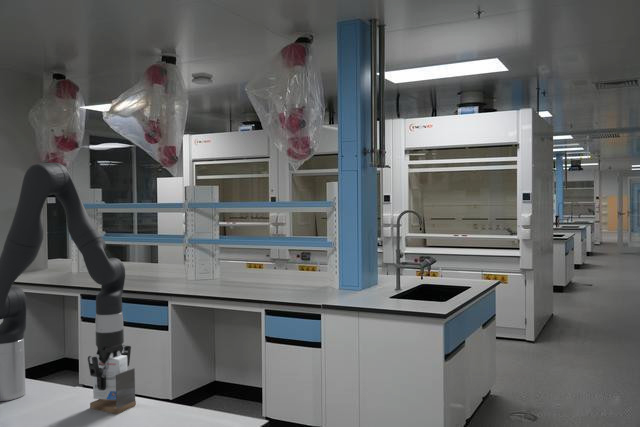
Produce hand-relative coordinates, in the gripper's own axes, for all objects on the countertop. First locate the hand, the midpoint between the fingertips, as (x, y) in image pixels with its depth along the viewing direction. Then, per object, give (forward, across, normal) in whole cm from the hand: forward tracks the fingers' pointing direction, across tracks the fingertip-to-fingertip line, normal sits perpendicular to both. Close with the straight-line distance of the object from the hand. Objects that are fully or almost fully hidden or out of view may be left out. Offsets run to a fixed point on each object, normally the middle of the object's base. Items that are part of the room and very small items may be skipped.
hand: (110, 386), depth 160 cm
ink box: (+3, 0, 0) cm, 3 cm away
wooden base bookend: (+6, 0, -1) cm, 6 cm away
